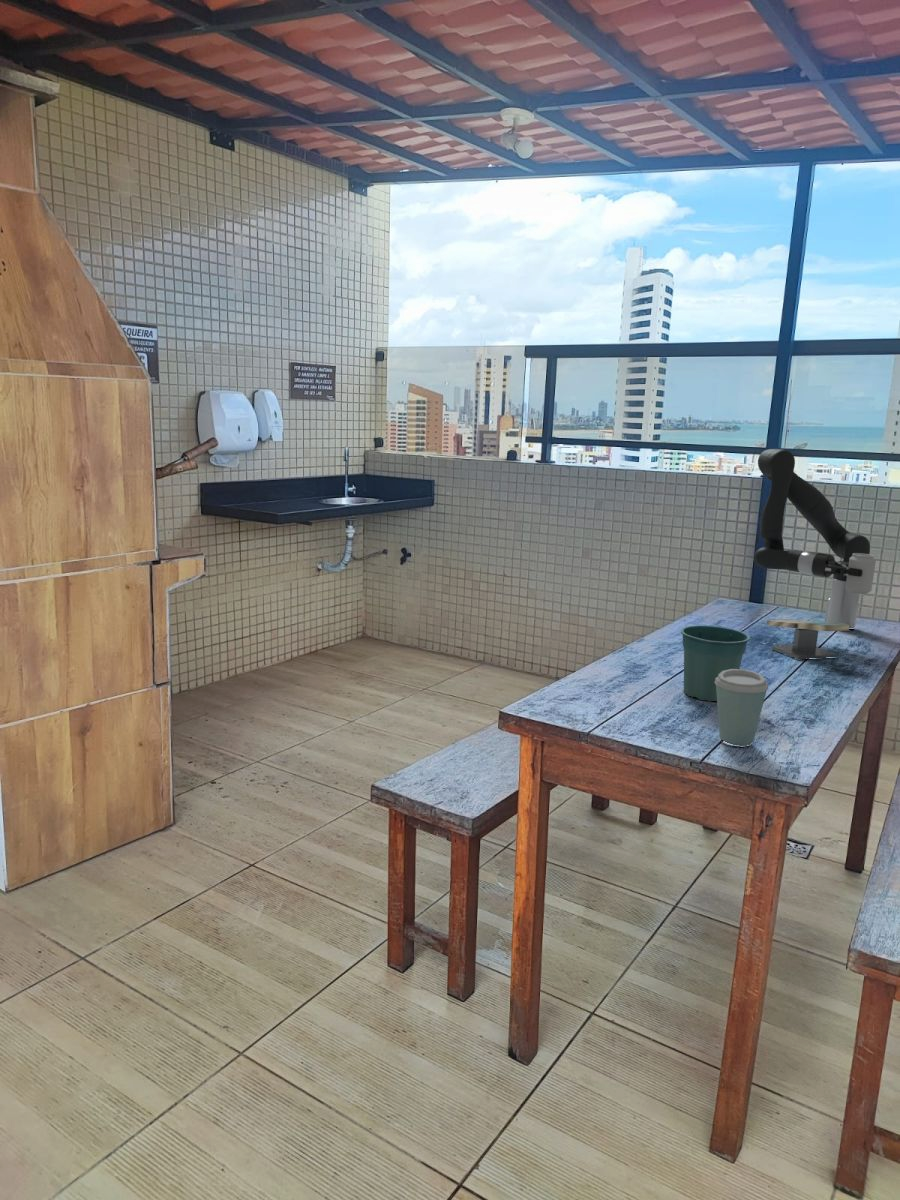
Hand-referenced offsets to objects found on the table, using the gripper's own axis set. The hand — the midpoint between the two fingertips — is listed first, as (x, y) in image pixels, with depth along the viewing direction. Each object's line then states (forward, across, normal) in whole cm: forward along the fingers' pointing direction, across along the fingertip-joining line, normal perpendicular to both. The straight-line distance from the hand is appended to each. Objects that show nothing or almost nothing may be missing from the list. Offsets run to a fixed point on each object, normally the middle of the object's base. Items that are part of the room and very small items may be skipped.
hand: (867, 572), depth 261 cm
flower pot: (0, -85, +24) cm, 89 cm away
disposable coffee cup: (+21, -110, +23) cm, 115 cm away
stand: (-6, -22, +24) cm, 34 cm away
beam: (-6, -22, +15) cm, 28 cm away
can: (-2, 0, +7) cm, 7 cm away
